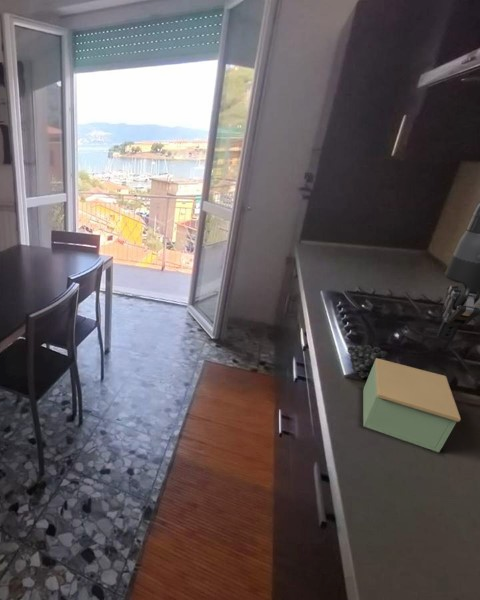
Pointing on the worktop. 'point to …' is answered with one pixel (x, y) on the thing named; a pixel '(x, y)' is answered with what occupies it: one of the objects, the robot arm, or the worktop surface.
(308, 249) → the worktop surface
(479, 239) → the robot arm
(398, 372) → the bin lid
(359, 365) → the fruit
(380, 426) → the bin
